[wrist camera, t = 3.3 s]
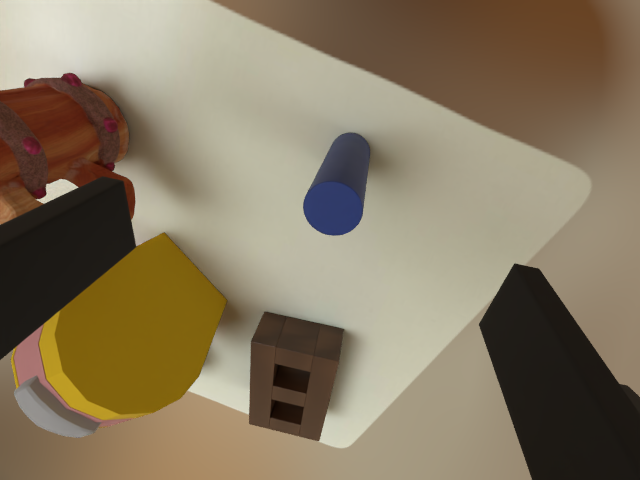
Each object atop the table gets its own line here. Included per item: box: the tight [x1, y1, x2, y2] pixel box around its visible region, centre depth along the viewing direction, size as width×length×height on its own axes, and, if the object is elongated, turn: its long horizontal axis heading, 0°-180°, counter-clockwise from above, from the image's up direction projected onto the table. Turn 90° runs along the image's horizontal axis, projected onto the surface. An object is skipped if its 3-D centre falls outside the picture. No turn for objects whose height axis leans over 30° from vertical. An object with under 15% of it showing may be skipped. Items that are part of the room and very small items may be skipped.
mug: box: [0, 73, 135, 224], centre depth 26 cm, size 15×8×15 cm, turn 37°
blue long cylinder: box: [303, 133, 370, 235], centre depth 24 cm, size 4×4×12 cm
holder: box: [249, 312, 344, 441], centre depth 44 cm, size 10×18×5 cm, turn 172°
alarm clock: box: [11, 233, 227, 438], centre depth 34 cm, size 15×8×18 cm, turn 33°
